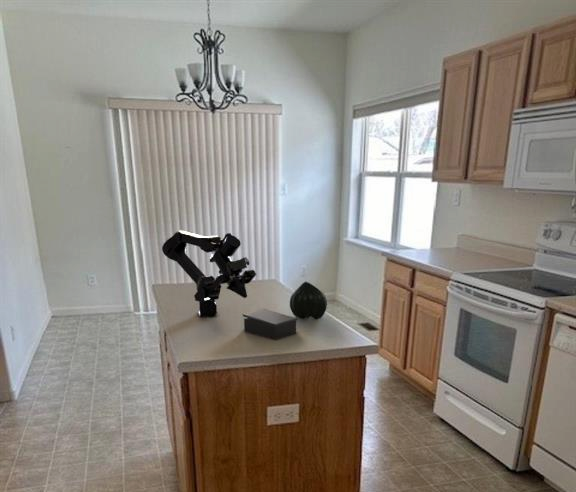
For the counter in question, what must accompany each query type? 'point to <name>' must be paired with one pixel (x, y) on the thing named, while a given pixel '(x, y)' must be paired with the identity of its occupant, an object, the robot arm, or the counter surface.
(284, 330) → the case
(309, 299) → the squash
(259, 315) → the cover
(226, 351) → the counter surface
